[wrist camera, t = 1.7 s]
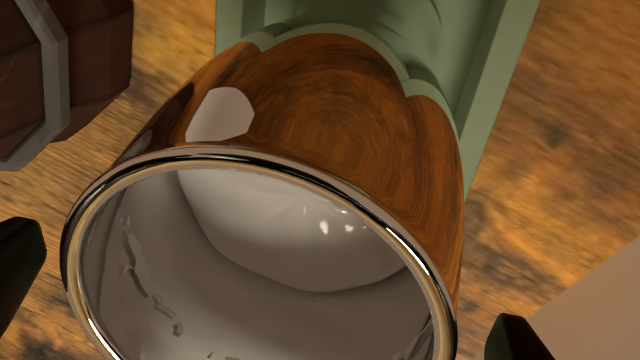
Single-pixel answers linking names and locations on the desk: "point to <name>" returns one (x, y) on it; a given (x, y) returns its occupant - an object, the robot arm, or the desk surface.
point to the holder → (455, 65)
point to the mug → (58, 70)
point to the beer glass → (284, 202)
